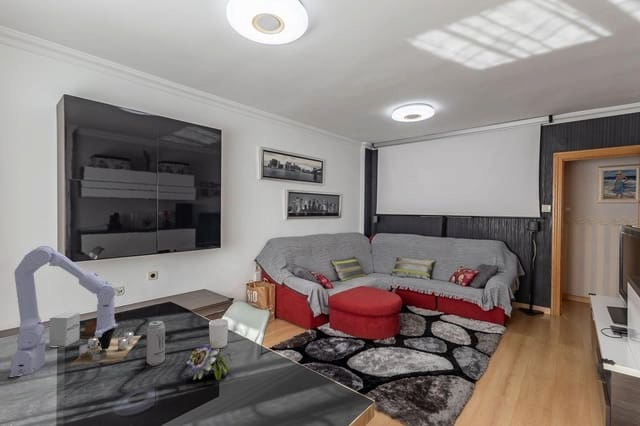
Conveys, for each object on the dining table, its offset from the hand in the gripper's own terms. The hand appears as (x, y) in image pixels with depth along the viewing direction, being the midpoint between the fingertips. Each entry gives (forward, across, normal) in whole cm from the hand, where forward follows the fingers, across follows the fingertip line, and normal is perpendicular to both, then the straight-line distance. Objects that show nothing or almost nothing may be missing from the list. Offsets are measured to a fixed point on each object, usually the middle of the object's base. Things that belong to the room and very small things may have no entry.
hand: (105, 348), depth 122 cm
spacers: (+1, +5, 0) cm, 5 cm away
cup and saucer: (+2, +23, +12) cm, 26 cm away
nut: (+1, -6, 0) cm, 6 cm away
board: (+2, +2, 0) cm, 3 cm away
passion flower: (+2, -28, -42) cm, 50 cm away
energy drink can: (+2, -14, -22) cm, 25 cm away
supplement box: (+2, +14, +20) cm, 25 cm away
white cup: (+2, -4, -44) cm, 44 cm away
